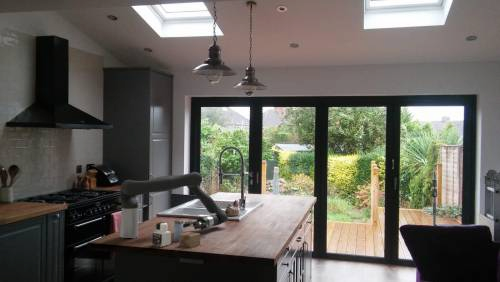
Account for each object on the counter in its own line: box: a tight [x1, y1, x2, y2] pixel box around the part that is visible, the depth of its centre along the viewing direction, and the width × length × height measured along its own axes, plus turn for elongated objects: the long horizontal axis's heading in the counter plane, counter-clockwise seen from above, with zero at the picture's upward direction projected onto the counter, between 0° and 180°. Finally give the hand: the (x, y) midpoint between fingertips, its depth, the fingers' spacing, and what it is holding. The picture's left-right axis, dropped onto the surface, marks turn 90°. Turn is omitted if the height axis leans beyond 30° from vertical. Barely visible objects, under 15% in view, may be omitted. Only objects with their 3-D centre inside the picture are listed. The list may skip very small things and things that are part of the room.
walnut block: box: [178, 231, 201, 248], centre depth 230 cm, size 8×8×6 cm
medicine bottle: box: [151, 221, 172, 248], centre depth 229 cm, size 7×7×12 cm
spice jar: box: [173, 219, 184, 242], centre depth 240 cm, size 5×5×11 cm
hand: (189, 226), depth 249 cm, fingers open, 8 cm apart
